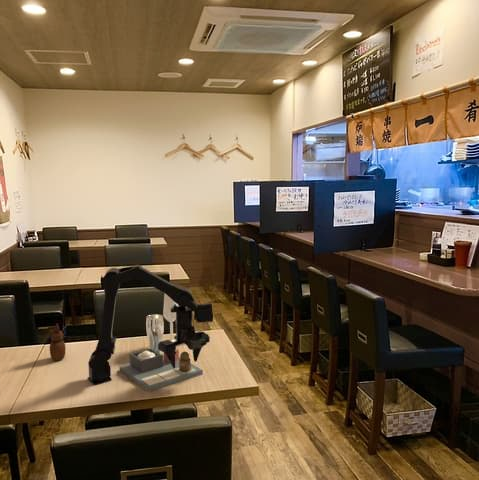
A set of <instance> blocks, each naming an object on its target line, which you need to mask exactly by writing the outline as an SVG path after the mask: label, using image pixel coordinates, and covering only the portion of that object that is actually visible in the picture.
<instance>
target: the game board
mask: <svg viewBox="0 0 479 480" xmlns="http://www.w3.org/2000/svg"><path fill="white" fill-rule="evenodd" d="M144 351H149V352H152V353H154V354H155V357H151V358H148V359H144V360H141V359H140V358H138V354H140V353H142V352H144ZM179 359H180V356H179ZM190 367H191V370H190V371H188V372H181V371H180V370H179V360H177V361H175V368H173V367H172V365H171V363H170V362H167V361H164V353H162V354H160V353H158V352H157V351H155V350H153V349H152V348H150V349H149V348H147V349H143V350H140V351H136V352H132V353H131V352H130V353H129V363H126V364H123V365H120V366H119V371H120V372H121V373H122V374H124V375H125V376H126V377H128V378H129V379H131V380H132V381H134V382H135V383H137V384H138V385H139V386H140V387H141V388H143V389H144V390H145V391H147V392H152V391H155V390H158V389H161V388H163V387H164V388H165V387H167V386H170V385H173V384H177V383H179V382H182V381H186V380H188V379H191V378H196V377H198V376H200V375H203V374H204V373H203V372H204V371H203V369H201V368H200V367H198V366H197V365H194V364H192V363H191V362H190Z"/></svg>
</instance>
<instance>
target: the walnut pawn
mask: <svg viewBox="0 0 479 480" xmlns="http://www.w3.org/2000/svg"><path fill="white" fill-rule="evenodd" d="M179 357H180V359H179V370H180V371H181V372H188V371H190V370H191V367H190V363H191V358H190V354H189V353H188V352H187V351H181V353H180V354H179Z"/></svg>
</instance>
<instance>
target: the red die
mask: <svg viewBox="0 0 479 480" xmlns="http://www.w3.org/2000/svg"><path fill="white" fill-rule="evenodd" d="M179 351H180V350H179V349H178V348H176V350H175V352H177V353H176V354H175V361H177V360H179V357H180V352H179ZM163 354H164V361H167V362H170V361H169V359H168V357H167V355H166V354H165V353H164V352H163Z"/></svg>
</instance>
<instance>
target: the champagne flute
mask: <svg viewBox="0 0 479 480" xmlns="http://www.w3.org/2000/svg"><path fill="white" fill-rule="evenodd" d="M174 304H176V305H177V306H179V305H178V304H177V303H175V302H174V301H173V300H172V299H171V298H170V297H169V296H168V295H166V294H165V293H164V297H163V314H162V316H163V319H164V320H166V321H167V322H169V335H170V336H169V337H170V339H169V340H170V341H171V342H174V341H176V339H174V323H173V322H176V312H171V308H172V307H173V306H174Z"/></svg>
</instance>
